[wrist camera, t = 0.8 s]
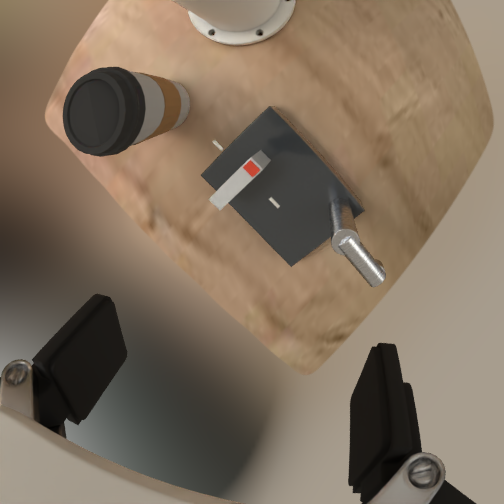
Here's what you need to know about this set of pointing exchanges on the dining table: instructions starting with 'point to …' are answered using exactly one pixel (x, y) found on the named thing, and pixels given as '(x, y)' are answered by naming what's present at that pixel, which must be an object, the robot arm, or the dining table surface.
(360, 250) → the spout
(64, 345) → the robot arm
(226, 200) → the tap handle
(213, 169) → the base
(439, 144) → the dining table surface
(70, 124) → the coffee cup
